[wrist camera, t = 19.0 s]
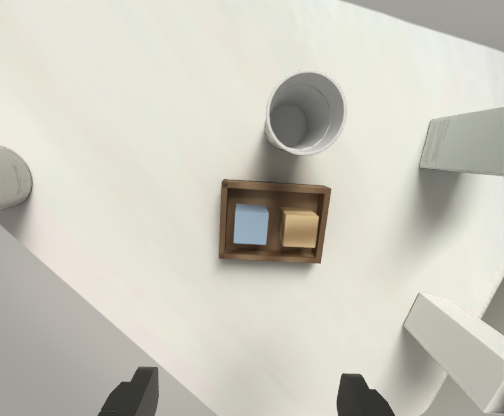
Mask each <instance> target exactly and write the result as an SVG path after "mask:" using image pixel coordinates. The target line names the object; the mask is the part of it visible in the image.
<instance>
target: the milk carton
mask: <svg viewBox="0 0 504 416" xmlns="http://www.w3.org/2000/svg"><path fill="white" fill-rule="evenodd" d="M404 327H405V328H406V329H407V330H408V331H409V332H410V333H411V335H412V336H413V337H414V338H415V339H416V340H417V341H418V342H419V343H420V344H421V345H422V346H423V347H424V349H425V350H426V351H427V352H428V353H429V354H430V355H431V356H432V357H433V358H434V359H435V360H436V362H437V363H438V364H439V365H440V366H441V367H442V368H443V369H444V370H445V371H446V372H447V373H448V375H449V376H450V377H451V378H452V379H453V380H454V381H455V382H456V383H457V384H458V385H459V386H460V387H461V389H463V391H464V392H465V393H466V394H467V395H468V396H469V397H470V398H471V399H472V400H473V402H474V403H476V405H477V406H478V407H479V408H480V409H481V410H482V411H483V412H484V413H488V414H492V415H497V416H504V336H503V335H502V334H500V333H499V332H497V331H496V330H494V329H493V328H491V327H490V326H489V325H487V324H486V323H484V322H483V321H482V320H480V319H479V318H477V317H476V316H474V315H473V314H472V313H470V312H469V311H467V310H466V309H465V308H463V307H462V306H460V305H459V304H457V303H456V302H454V301H451V300H447V299H444V298H440V297H436V296H432V295H429V294H425V293H419V295H418V297H417V299H416V301H415V303H414V305H413V307H412V309H411V311H410V313H409V315H408V317H407V319H406V321H405V323H404Z"/></svg>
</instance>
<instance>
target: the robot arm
mask: <svg viewBox="0 0 504 416" xmlns="http://www.w3.org/2000/svg"><path fill="white" fill-rule="evenodd" d="M31 186H32V180H31V175H30V172H29V170H28V167H27V166H26V164H25V163H24V161H23V160H22V159H21V158H20V157H19V156H18V155H17V154H15V153H14V152H13V151H11V150H9V149H7V148H5V147H2V146H0V209H4V208H8V207H13V206H16V205H18V204H20V203H22V202H23V201H24V200H25V199H26V198H27V197H28V195H29V193H30V191H31ZM158 392H159V391H158V368H157V367H138V369H137V370H136V372H135V374H134V376H133V378H132V380H131V382H121V383H120V385H118V386H117V387H116V388H115V389H114V390H113V391H112V392H111V393H110V395H109V397H108V398H107V400H106V402H105V404H104V406H103V407H102V409H101V412H99V414H98V416H154V415H155V412H156V409H157V404H158V396H159V393H158ZM337 411H338V416H395V415H394V413H393V411H392V409H391V408H390V406H389V404H388V402H387V401H386V400H385V399H384V398H383V397H382V396H381V395H380V394H379V393H378V392H377V391H376V390H375V389H369V387H368V385H367V384H366V382H365V380H364V378H363V377H362V375H361V374H344V373H343V374H342V375H341V380H340V385H339V391H338V396H337Z"/></svg>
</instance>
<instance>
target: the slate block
mask: <svg viewBox="0 0 504 416" xmlns="http://www.w3.org/2000/svg"><path fill="white" fill-rule="evenodd" d="M268 217H269V213H268V210H267V208H266V206H265V205H249V204H236V210H235V226H234V243H241V244H259V245H266V240H267V228H268Z"/></svg>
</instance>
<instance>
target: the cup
mask: <svg viewBox="0 0 504 416" xmlns="http://www.w3.org/2000/svg"><path fill="white" fill-rule="evenodd" d="M346 116H347V105H346V100H345V96H344V93H343V91H342V89H341V88H340V86H339V85H338V83H337V82H336V81H335V80H334V79H333V78H332V77H330V76H329V75H327V74H326V73H324V72H321V71H318V70H313V69H304V70H298V71H295V72H293V73H291V74H289V75H287V76H286V77H284V78H283V79H282V80H281V81H280V82H279V83H278V84H277V85H276V86H275V88H274V89H273V91H272V93H271V95H270V97H269V100H268V103H267V108H266V121H265V134H266V137H267V139H268V141H269V142H270V143H271V144H272V145H273V146H275V147H276V148H279V149H283V150H286V151H287V152H290V153H292V154H295V155H302V156H307V155H314V154H317V153H320V152H322V151H324V150H325V149H327V148H328V147H330V146H331V145H332V144H333V143H334V142H335V141H336V140H337V138H338V137H339V135H340V134H341V132H342V130H343V128H344V125H345V121H346Z"/></svg>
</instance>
